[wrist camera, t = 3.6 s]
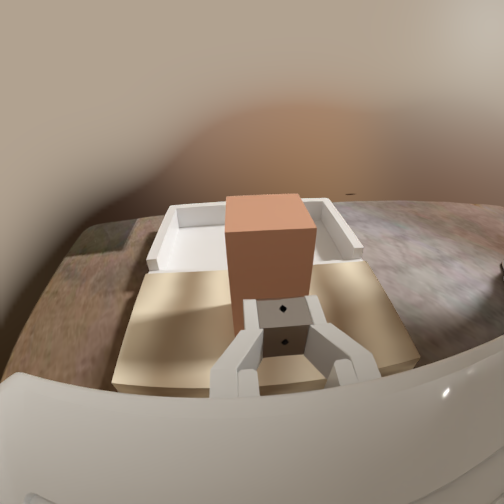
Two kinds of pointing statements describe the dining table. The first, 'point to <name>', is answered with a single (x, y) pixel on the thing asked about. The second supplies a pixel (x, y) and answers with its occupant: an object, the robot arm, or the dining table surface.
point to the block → (267, 249)
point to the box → (213, 238)
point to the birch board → (222, 334)
